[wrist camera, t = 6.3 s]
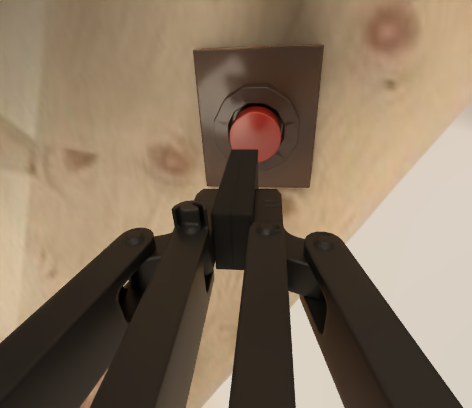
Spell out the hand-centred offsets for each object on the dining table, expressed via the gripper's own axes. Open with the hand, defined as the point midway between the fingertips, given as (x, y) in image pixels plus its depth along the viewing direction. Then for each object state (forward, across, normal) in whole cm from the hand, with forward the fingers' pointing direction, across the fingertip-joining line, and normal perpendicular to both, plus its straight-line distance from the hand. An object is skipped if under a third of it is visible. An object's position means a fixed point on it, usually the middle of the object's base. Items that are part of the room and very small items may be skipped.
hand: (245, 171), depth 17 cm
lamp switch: (+9, 0, 0) cm, 9 cm away
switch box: (+12, 0, 0) cm, 12 cm away
